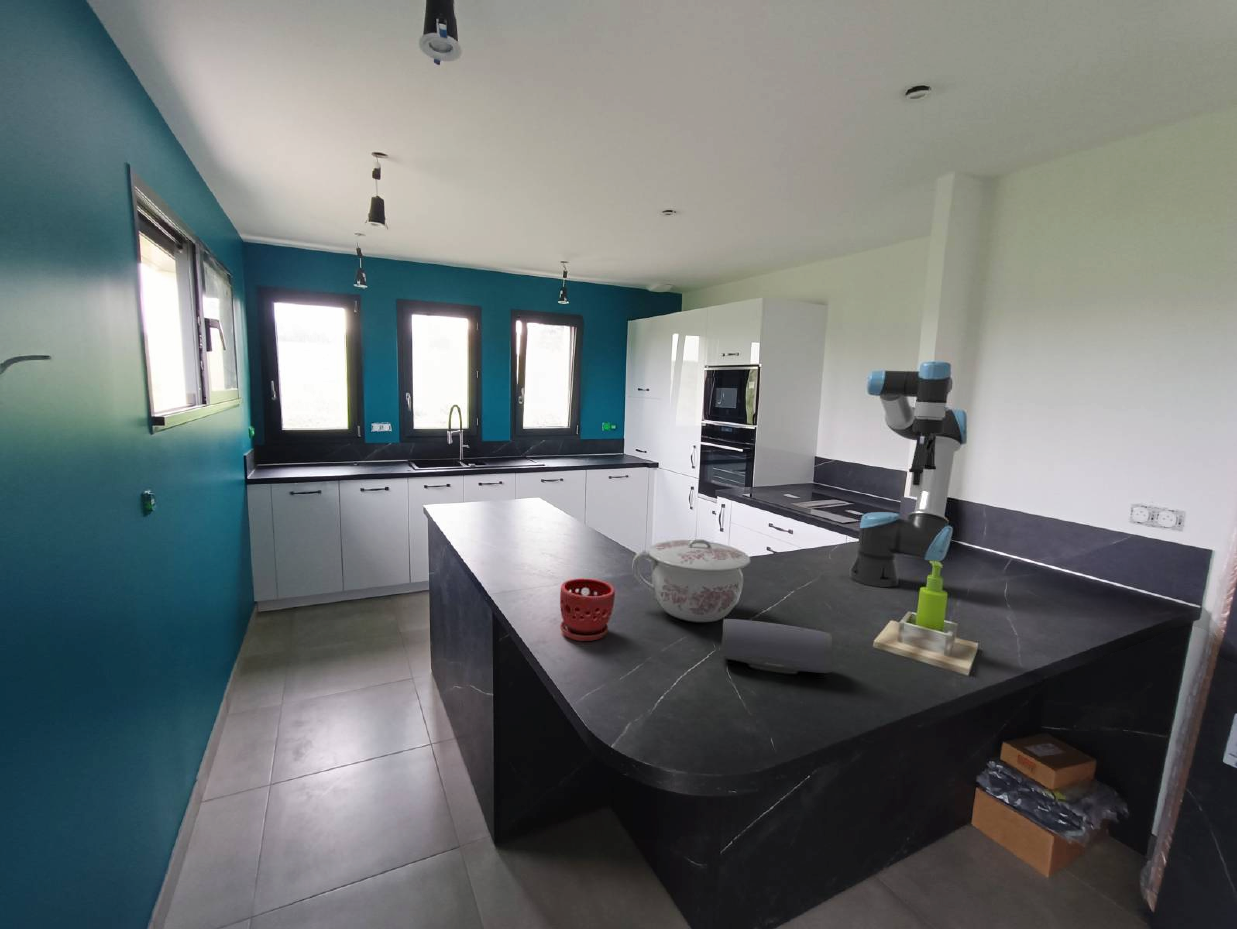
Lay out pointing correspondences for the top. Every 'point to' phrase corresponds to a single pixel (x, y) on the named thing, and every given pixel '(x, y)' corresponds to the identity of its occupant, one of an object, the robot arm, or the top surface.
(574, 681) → the top surface
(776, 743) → the top surface
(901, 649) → the dispenser caddy
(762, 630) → the bluetooth speaker
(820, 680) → the top surface
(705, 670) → the top surface
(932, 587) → the soap dispenser
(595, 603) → the plant pot
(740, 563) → the chamber pot
